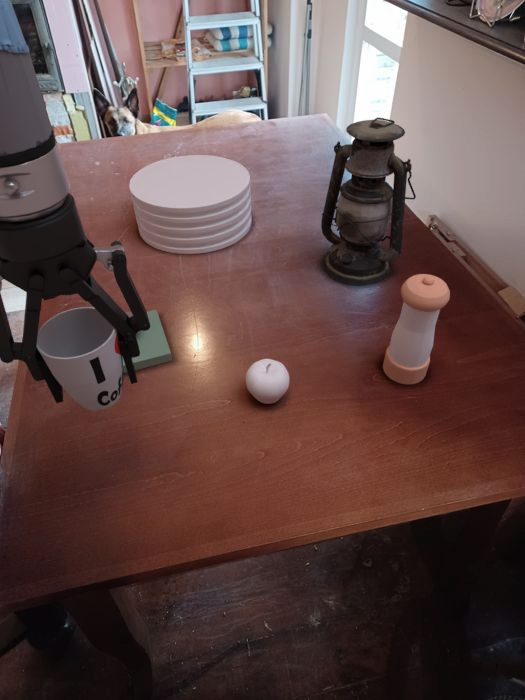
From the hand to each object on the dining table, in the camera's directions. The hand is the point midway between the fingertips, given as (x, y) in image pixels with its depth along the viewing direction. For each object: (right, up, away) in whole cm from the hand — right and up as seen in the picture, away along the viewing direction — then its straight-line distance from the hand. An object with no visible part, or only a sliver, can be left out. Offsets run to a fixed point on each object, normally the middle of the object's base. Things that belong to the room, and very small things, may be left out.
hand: (96, 384), depth 55 cm
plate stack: (+3, +36, +64) cm, 73 cm away
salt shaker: (+44, +1, +27) cm, 51 cm away
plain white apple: (+20, -4, +23) cm, 31 cm away
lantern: (+41, +24, +51) cm, 69 cm away
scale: (-6, +4, +32) cm, 32 cm away
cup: (0, -1, +1) cm, 2 cm away
